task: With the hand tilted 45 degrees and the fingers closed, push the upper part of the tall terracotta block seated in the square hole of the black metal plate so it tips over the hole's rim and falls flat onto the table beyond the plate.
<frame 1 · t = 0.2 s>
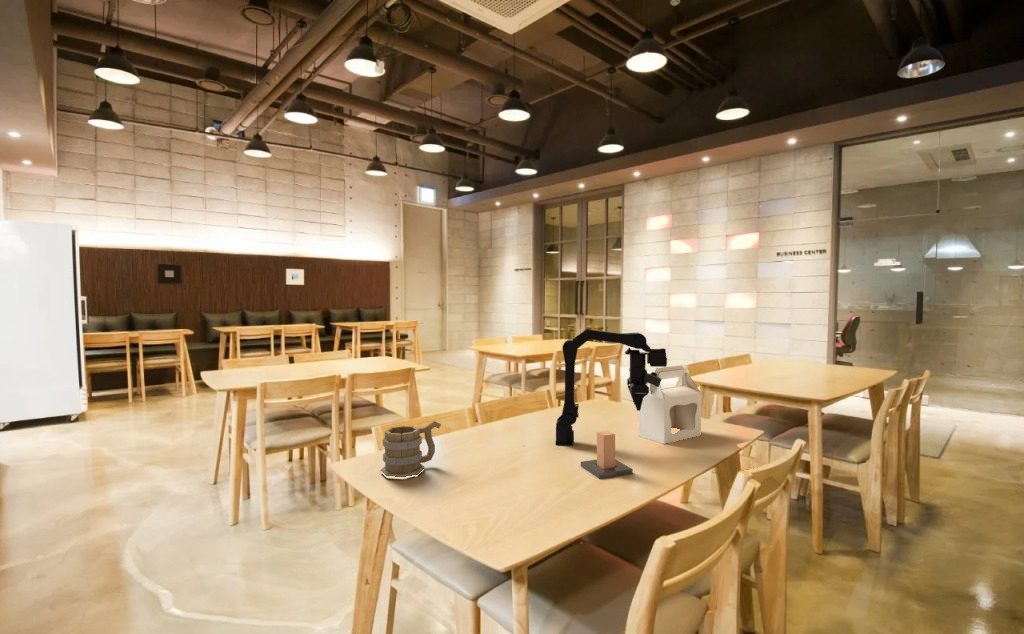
hand: (637, 407, 179), 14 cm above the table, tool pointing down, fingers open, 9 cm apart
tankard: (413, 471, 155), on the table
gable box: (669, 436, 192), on the table
block: (605, 451, 154), in the plate
plate: (606, 469, 154), on the table
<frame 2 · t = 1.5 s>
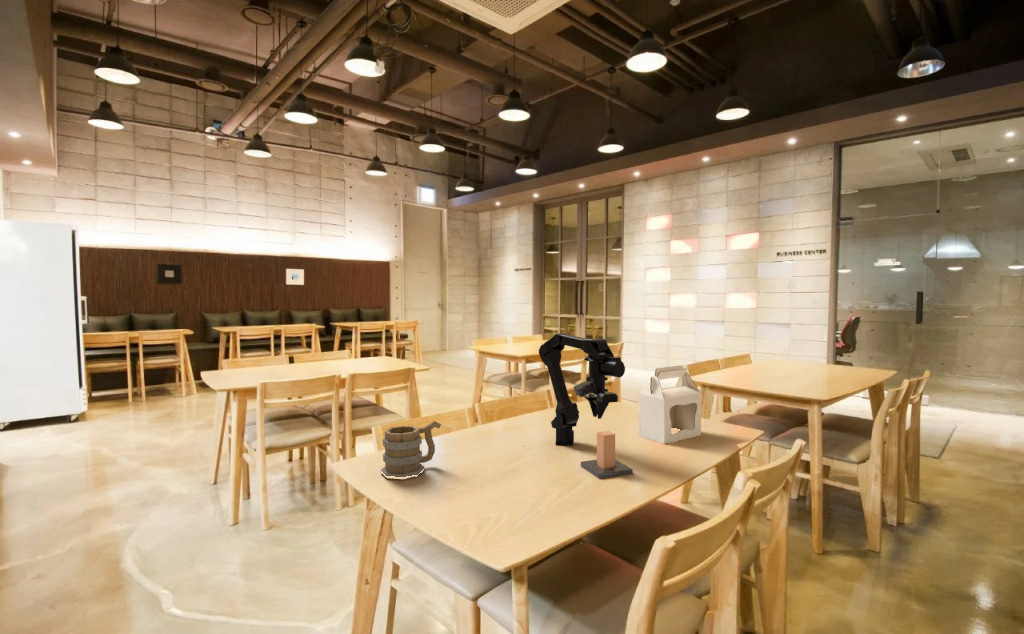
hand: (597, 417, 170), 13 cm above the table, tool pointing down, fingers open, 3 cm apart
nothing on the table moved.
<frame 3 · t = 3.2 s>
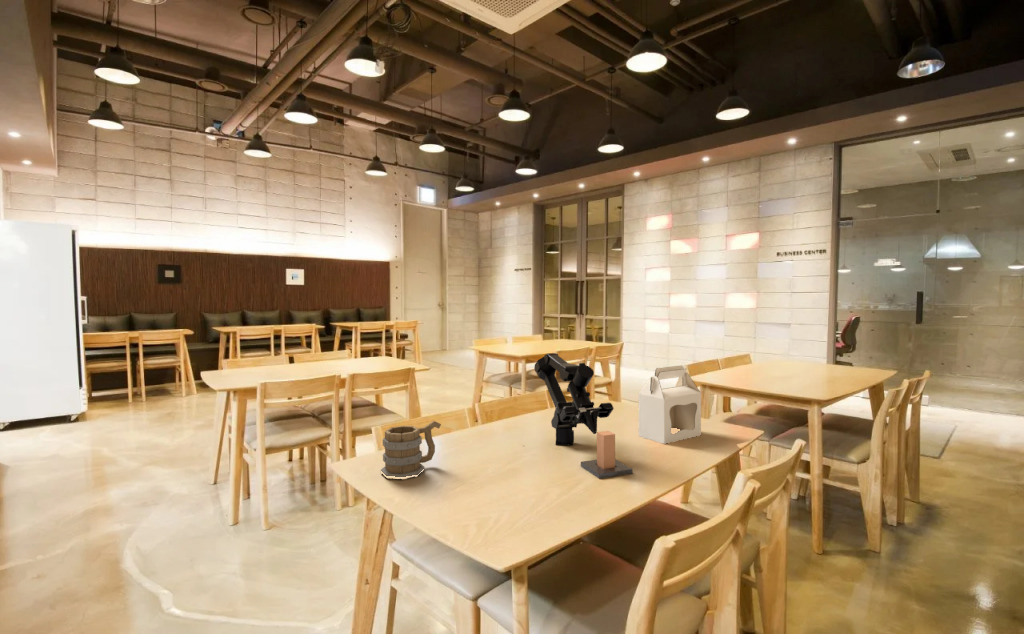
hand: (595, 433, 160), 10 cm above the table, tool tilted 45°, fingers closed
nothing on the table moved.
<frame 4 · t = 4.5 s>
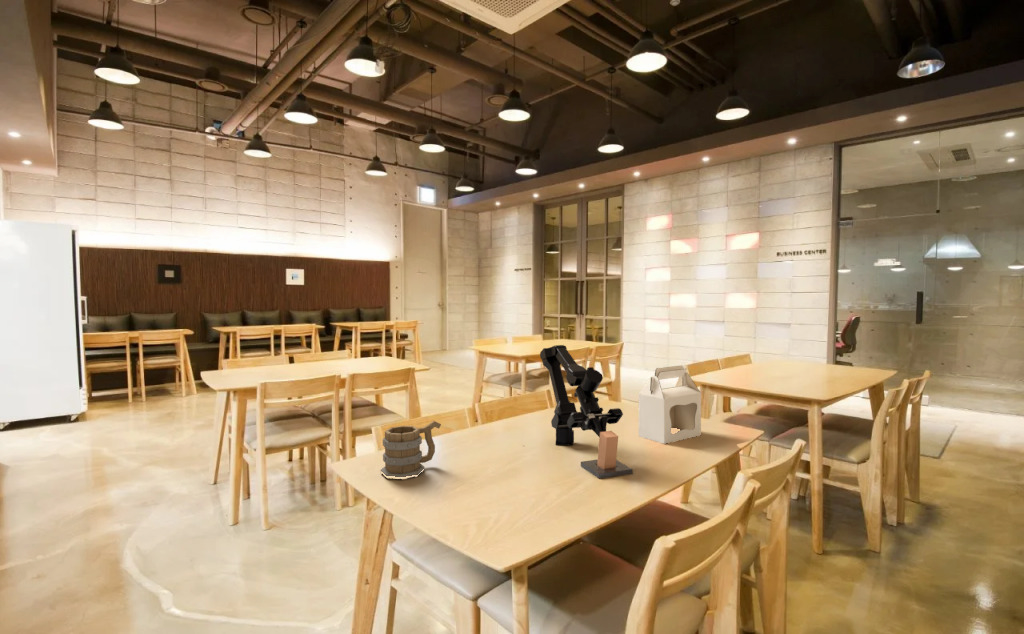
hand: (604, 440, 155), 9 cm above the table, tool tilted 45°, fingers closed
block: (607, 451, 153), in the plate, tilted 9°
everything else where it was.
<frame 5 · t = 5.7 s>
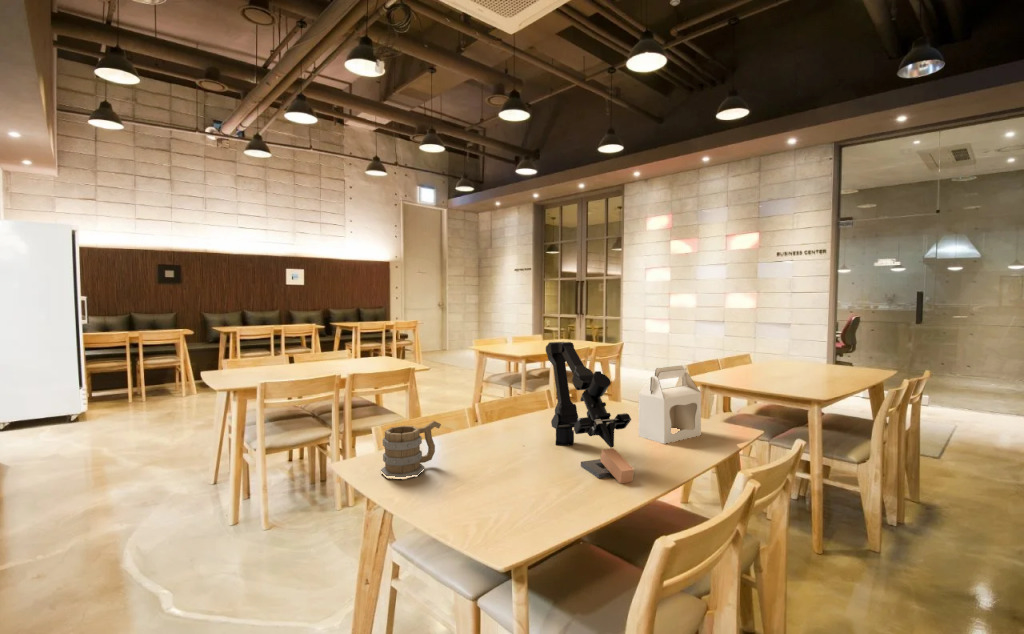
hand: (612, 446, 150), 9 cm above the table, tool tilted 45°, fingers closed
block: (616, 465, 148), on the table, tilted 105°, touching plate
everything else where it was.
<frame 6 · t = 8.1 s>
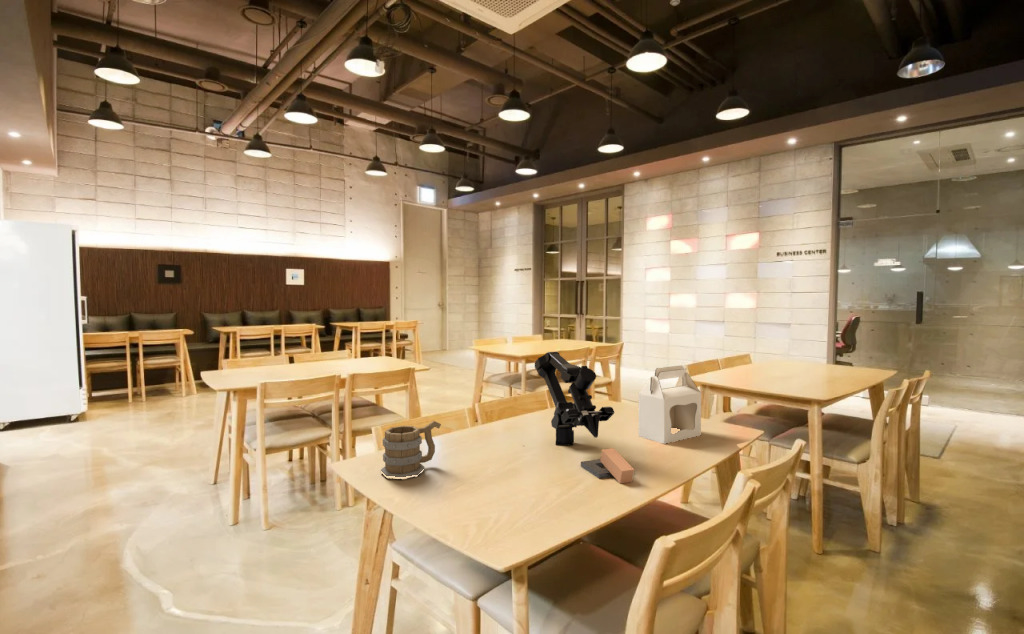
hand: (596, 437, 160), 9 cm above the table, tool tilted 45°, fingers closed
nothing on the table moved.
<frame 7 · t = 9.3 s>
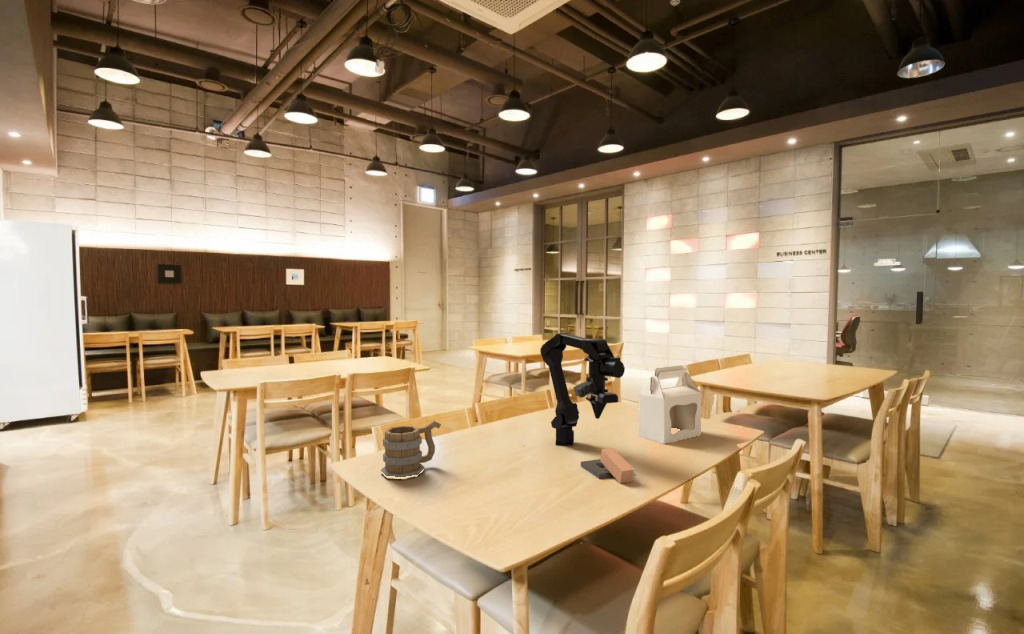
hand: (597, 418, 169), 13 cm above the table, tool pointing down, fingers closed
nothing on the table moved.
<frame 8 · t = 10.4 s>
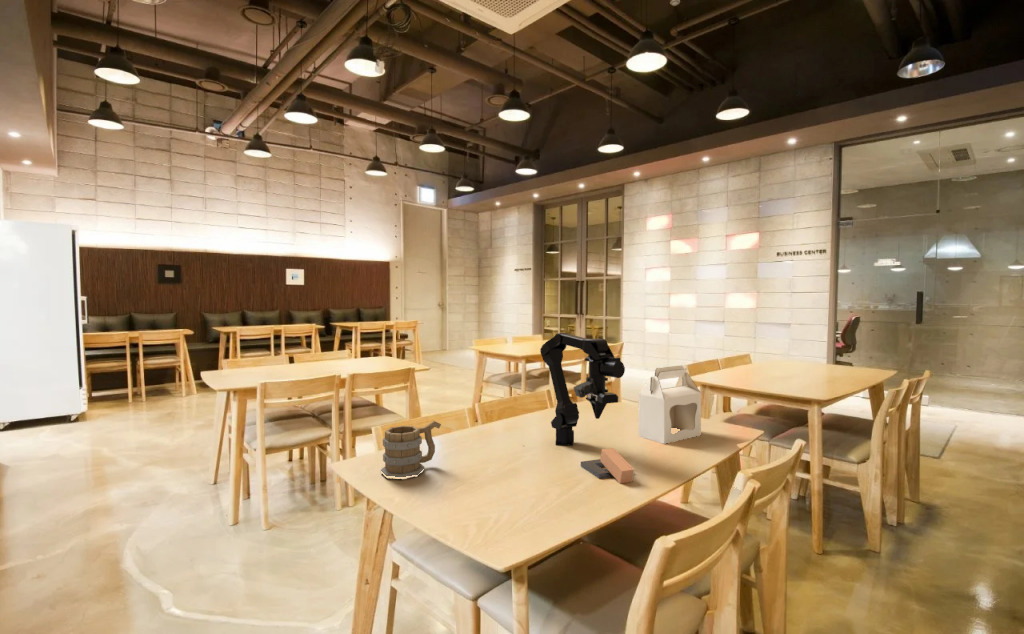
hand: (597, 418, 169), 13 cm above the table, tool pointing down, fingers closed
nothing on the table moved.
at the end: block tilted 105°; block inside the target area (6.6 cm from its centre), point 3.6 cm above the table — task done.
